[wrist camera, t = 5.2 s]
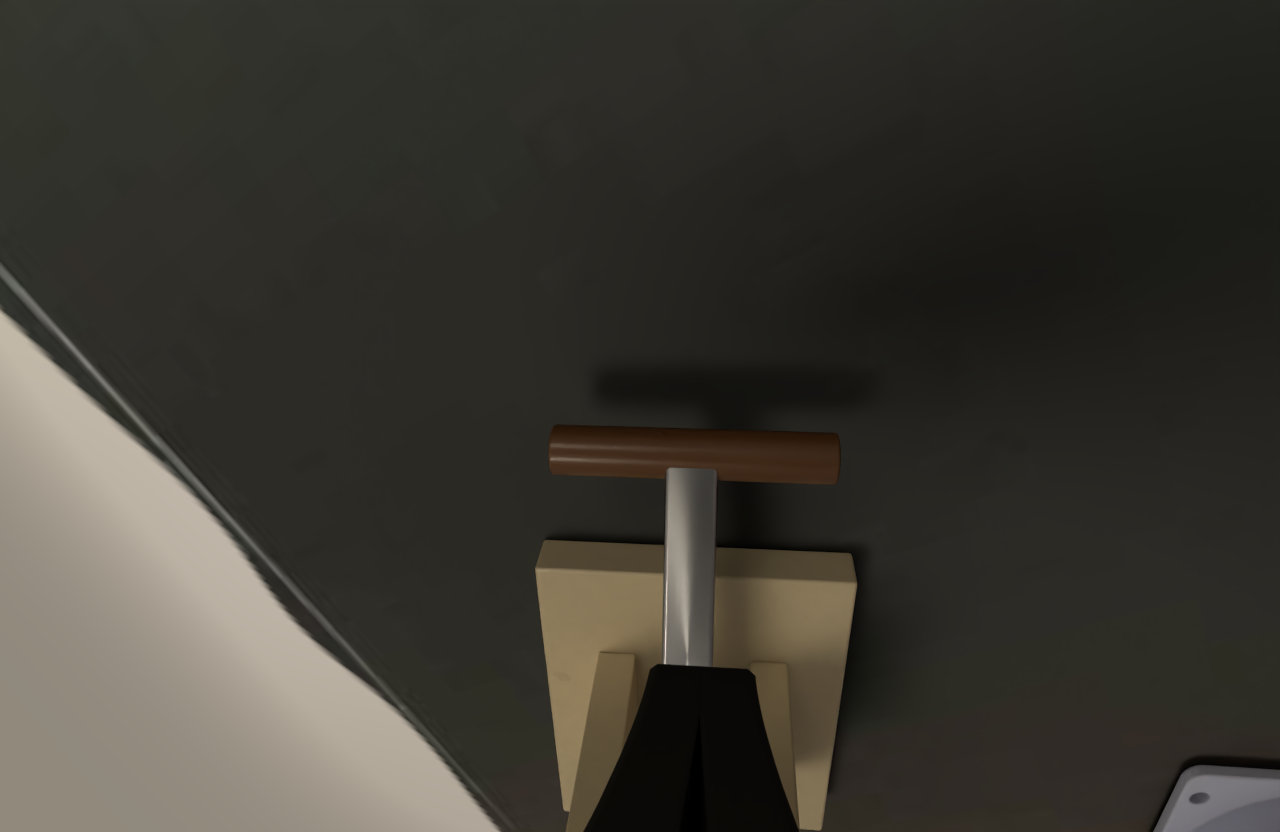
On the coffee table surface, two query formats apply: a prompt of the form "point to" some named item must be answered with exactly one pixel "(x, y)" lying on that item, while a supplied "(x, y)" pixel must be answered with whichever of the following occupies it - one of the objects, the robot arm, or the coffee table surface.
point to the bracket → (743, 638)
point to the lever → (693, 500)
